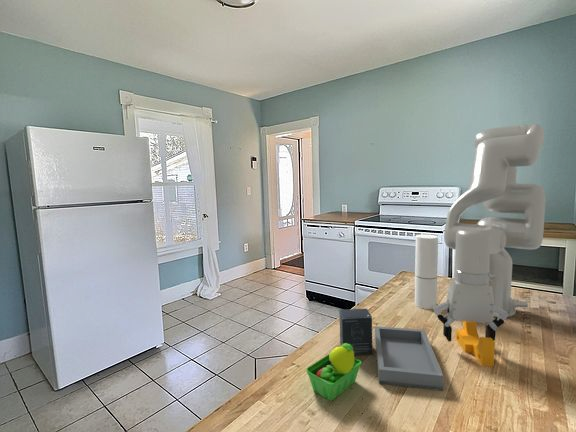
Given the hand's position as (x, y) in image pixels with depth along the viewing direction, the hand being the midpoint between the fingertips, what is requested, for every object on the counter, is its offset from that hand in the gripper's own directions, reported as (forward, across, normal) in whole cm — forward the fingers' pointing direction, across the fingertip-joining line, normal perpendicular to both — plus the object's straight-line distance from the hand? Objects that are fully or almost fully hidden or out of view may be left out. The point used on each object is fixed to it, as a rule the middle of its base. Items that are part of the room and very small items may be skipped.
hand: (468, 340), depth 80 cm
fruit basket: (+4, +33, +19) cm, 38 cm away
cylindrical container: (+3, +5, -30) cm, 30 cm away
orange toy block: (+4, -2, 0) cm, 4 cm away
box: (+4, +29, +3) cm, 29 cm away
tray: (+4, +17, +6) cm, 18 cm away
